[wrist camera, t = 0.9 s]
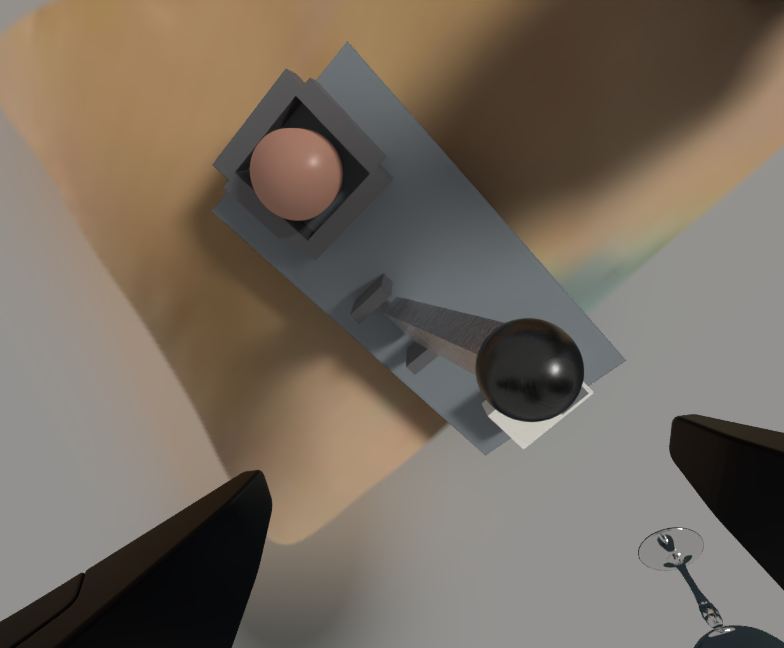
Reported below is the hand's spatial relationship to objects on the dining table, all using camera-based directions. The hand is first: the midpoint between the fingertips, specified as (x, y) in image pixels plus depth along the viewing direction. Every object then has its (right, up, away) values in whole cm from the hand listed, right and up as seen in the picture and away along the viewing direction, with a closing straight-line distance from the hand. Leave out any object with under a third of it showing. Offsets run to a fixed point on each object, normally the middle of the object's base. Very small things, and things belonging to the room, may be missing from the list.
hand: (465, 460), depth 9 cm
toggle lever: (-1, +3, +11) cm, 12 cm away
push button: (-5, +9, +8) cm, 13 cm away
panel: (0, +6, +13) cm, 15 cm away
